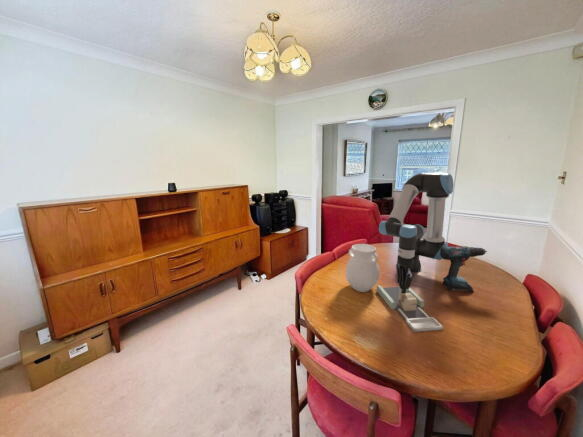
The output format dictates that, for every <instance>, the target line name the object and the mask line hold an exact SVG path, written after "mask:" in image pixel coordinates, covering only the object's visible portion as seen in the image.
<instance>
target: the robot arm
mask: <svg viewBox="0 0 583 437" xmlns="http://www.w3.org/2000/svg"><path fill="white" fill-rule="evenodd" d="M401 190H402V192H401V194H400V195H399V197H398V199H397V201H396V202H395V205H394V207H393V209H392V210H391V212H390V214H389V216H388V218H387V219H386V220H381V221H380V223H379V225H378V232H379V233H380V234H381V235H384V236H391V237H396V238H398V239H399V240H398V249H397V258H396V260H397V261H396V264H395V265H396V278H397V280H396V282H397V284H398V287H400V288H399V294H401V293H406V289H409V287H410V288H411V283H412V280H413V277H414V276H415V275H414V273H417V272H420V271H422V265H421V264H422V263H421V261H420V257H424V258H428V259H432V260H439V261H440V260H444V259H443V258H441V256H440V250H441V248H442V247H449V243H448V242H446V241H445V240H446V238H445V237H444V236H443V232H444V231H443V230H444V220H445V209H446V200H447V199H448V198H449V197H450V195H451V194H453V192H454V178H453V175H452V174H451V173H448V172H447V173H446V172H419V173H417V174H414V175H412V176H411V177H410V178H409V179H407V180H406V181H405V183H404V184H403V186H402V188H401ZM419 193H426V194H425V196H426V197H427V198H428V204H427V206H428V209H427V221H426V222H427V223H426V224H427V225H426V229H425V227H424V226H422V225H421V224H418V223H416V224H405V223H403V221H404V219H405V217H406V215H407V213H408V211H409V210H410V207H411V205H412V203H413V201H414V199H415V197H416V196H418V195H419ZM425 234H426V235H425Z"/></svg>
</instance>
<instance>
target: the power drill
mask: <svg viewBox="0 0 583 437" xmlns="http://www.w3.org/2000/svg"><path fill="white" fill-rule="evenodd" d="M487 252H488V251H487V250H486V249H484V248H482V247H472V246H471V247H469V246H466V245H460V246H452V245H448V247H442V248H441V250H440V256H441V258H443V259H442V260H446V261H450V264H449V265H450V266H449V269H448V273H447V274H446V276H444V277H443V281H442V285H443V286H444V288H445V289H446V290H447V291H455V292H466V293H467V292H469V293H474V288H473V287H472V285H471V284H470V283H469V282H468V281H467V279H466V278H465V277H463V276H461V275H458V274H459V270H460V268H461V267H462V266H463V267H464V266H466V261H468V260H469V258H475V257H479V256H484V255H485V254H487Z"/></svg>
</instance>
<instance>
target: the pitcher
mask: <svg viewBox="0 0 583 437" xmlns="http://www.w3.org/2000/svg"><path fill="white" fill-rule="evenodd" d="M348 255H349V258H350V259H349V260H348V261H347V264H346V268H345V278H346V281H347V282H348V284H349V285H350V287H352V288H353V290H355V291H357V292H361V293H366V292H369V291H370V290H371V289H373V288H374V286H376V285H377V283H378V281H379V278H380V267H379V264H378V262H377V261H379V259H380V258H379V255H378V253H377V248H376V247H375V245H372V244H368V243H355V244H353V245H352V246H351V248H350V249H349V250H348ZM374 257H375V258H374Z"/></svg>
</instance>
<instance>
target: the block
mask: <svg viewBox="0 0 583 437" xmlns="http://www.w3.org/2000/svg"><path fill="white" fill-rule="evenodd" d="M398 305H399V306H400V307H401V308H402V309H403V310H404V311H412V310H416V305H417V299H416V298H415V297H414V296H413V295H412V294H411V293H401V294H399V299H398Z"/></svg>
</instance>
